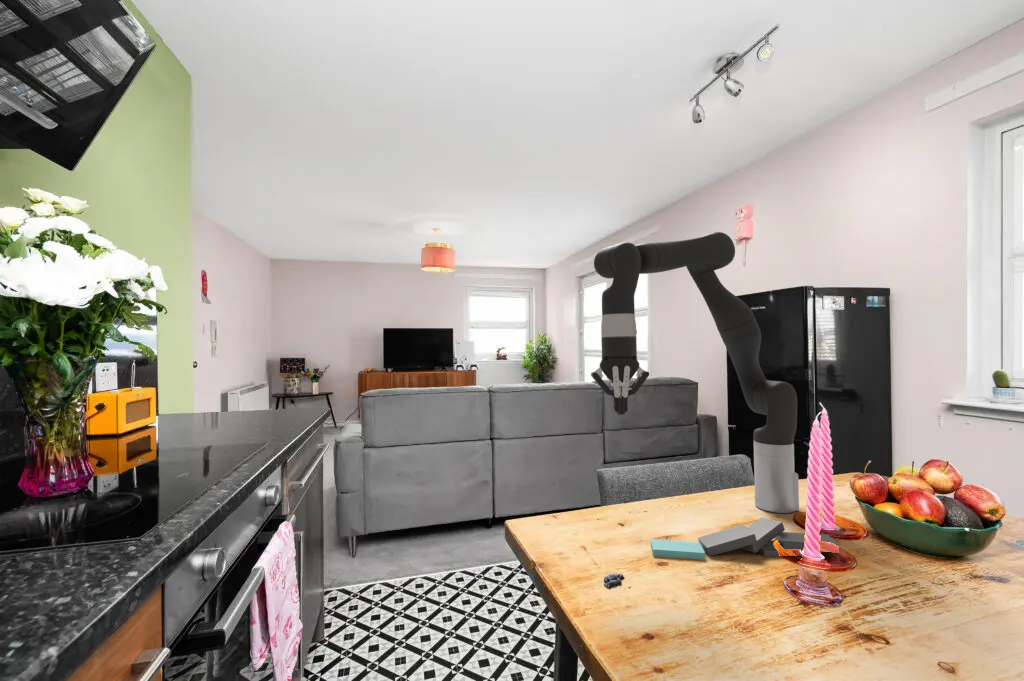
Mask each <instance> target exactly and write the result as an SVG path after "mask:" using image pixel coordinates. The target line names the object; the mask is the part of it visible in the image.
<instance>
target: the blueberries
mask: <svg viewBox="0 0 1024 681" xmlns="http://www.w3.org/2000/svg"><path fill="white" fill-rule="evenodd" d="M625 579H626V577H625V576H624V574H622V573H612V574H610V573H609V574H608V575H605V576H604V577H603V583H604V584H603V587H605V588H606V589H609V590H611V589H612V588H614V587H615V586H616V587H618V586H622V584H623V583H622V581H623V580H625ZM627 587H628V586H627ZM627 587H625V588H626V589H627ZM625 588H624V590H625Z"/></svg>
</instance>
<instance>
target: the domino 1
mask: <svg viewBox="0 0 1024 681" xmlns="http://www.w3.org/2000/svg"><path fill="white" fill-rule="evenodd" d="M747 527H748V526H746V525H744V524H741V525H736V526H734V527H729V528H727V529H724V530H723V529H722V530H719V531H716V532H713V533H710V534H707V535H703V536H700V537H699V536H698V537H697V539H698V540H697V541H698V543H700V544H701V546H702V548H703V550H704V552H705V554H707V555H708V557H713V556H717V555H718V554H723V553H726V552H729V551H733V550H737V549H740V547H744V546H747V545H751V544H754V543H757V540H756V536H755V534H754V533H753V532H752V531H750V530H749V529H748V528H747Z"/></svg>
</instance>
